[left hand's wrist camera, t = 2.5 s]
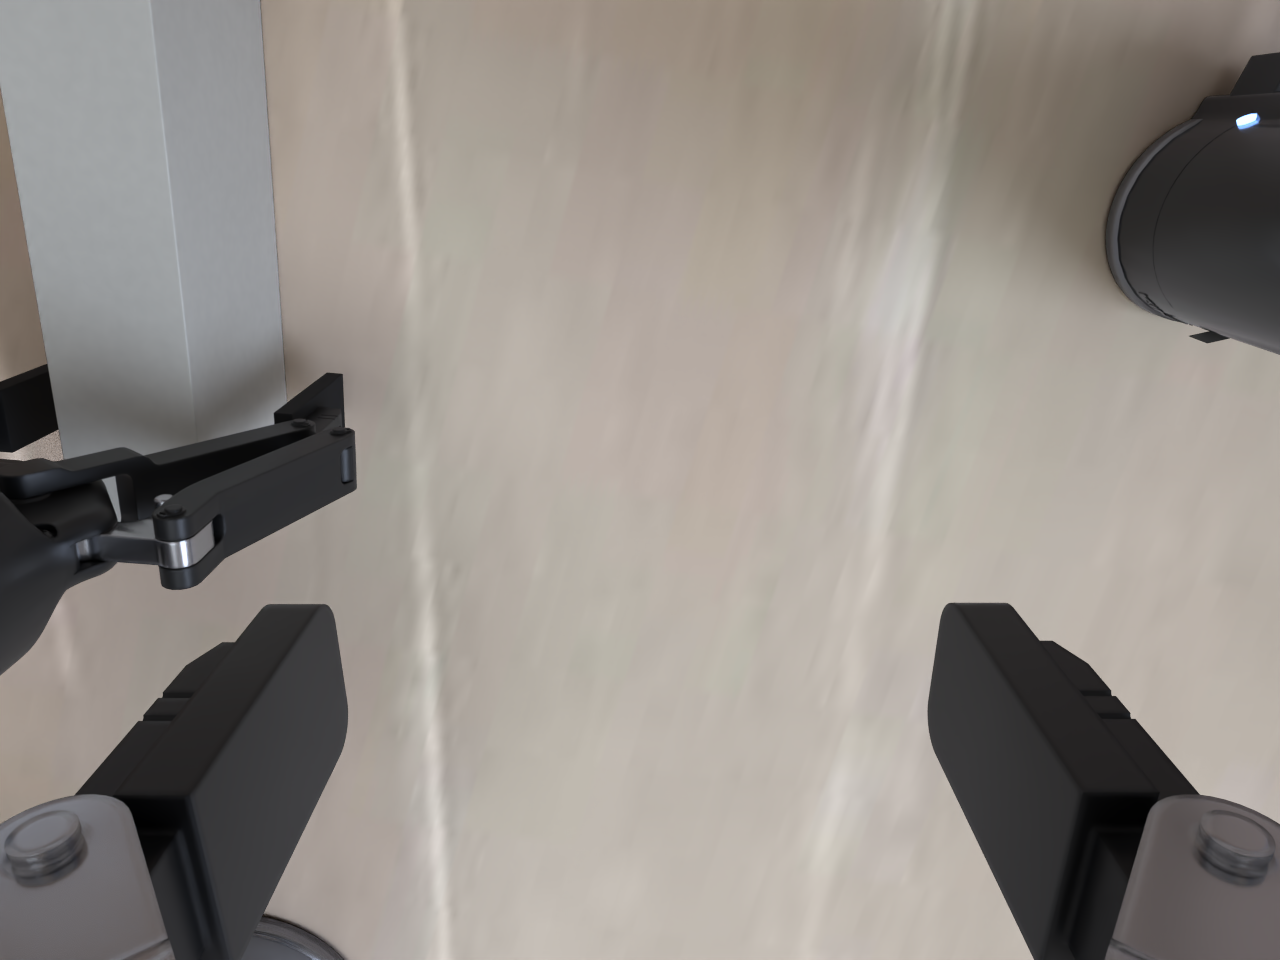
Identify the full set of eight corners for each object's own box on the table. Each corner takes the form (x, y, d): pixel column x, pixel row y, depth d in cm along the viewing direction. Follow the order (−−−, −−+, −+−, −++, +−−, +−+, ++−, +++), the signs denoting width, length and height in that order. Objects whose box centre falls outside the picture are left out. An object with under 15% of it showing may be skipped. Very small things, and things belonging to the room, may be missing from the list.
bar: (116, -133, 36) (-54, -220, 27) (252, -119, 36) (127, -202, 27) (184, 458, 45) (75, 534, 36) (291, 466, 45) (208, 544, 37)
